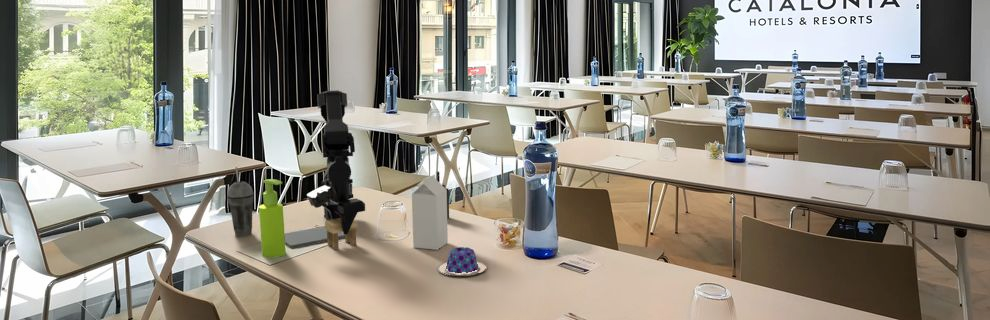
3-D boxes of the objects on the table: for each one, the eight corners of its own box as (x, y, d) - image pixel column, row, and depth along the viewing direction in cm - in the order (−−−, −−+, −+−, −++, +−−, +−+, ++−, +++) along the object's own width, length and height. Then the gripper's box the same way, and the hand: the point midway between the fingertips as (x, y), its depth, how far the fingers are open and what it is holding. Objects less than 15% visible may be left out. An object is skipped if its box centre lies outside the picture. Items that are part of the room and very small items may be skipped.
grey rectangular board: (328, 228, 206) (328, 225, 206) (346, 237, 197) (345, 234, 197) (275, 237, 197) (275, 235, 197) (291, 248, 187) (290, 245, 187)
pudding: (441, 262, 177) (440, 242, 176) (488, 262, 176) (488, 242, 175) (434, 279, 165) (434, 258, 164) (485, 279, 164) (485, 258, 163)
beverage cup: (261, 231, 203) (256, 163, 200) (250, 238, 196) (244, 169, 193) (237, 230, 204) (231, 163, 200) (225, 237, 197) (219, 168, 193)
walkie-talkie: (442, 215, 219) (441, 169, 216) (450, 217, 217) (449, 170, 214) (432, 219, 215) (431, 171, 212) (440, 221, 213) (439, 173, 210)
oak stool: (349, 240, 194) (348, 216, 192) (357, 245, 190) (356, 220, 189) (326, 245, 190) (324, 220, 188) (333, 250, 186) (332, 224, 184)
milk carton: (447, 242, 191) (446, 175, 188) (437, 250, 185) (435, 180, 181) (424, 240, 194) (422, 173, 190) (413, 248, 187) (411, 179, 183)
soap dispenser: (275, 259, 178) (270, 183, 174) (257, 255, 182) (252, 180, 178) (293, 253, 183) (288, 179, 179) (275, 249, 187) (270, 176, 183)
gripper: (296, 173, 189) (299, 229, 192) (324, 185, 174) (327, 245, 177) (334, 168, 195) (337, 222, 198) (365, 179, 181) (367, 237, 184)
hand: (341, 231), depth 189 cm, fingers closed on oak stool, 5 cm apart
